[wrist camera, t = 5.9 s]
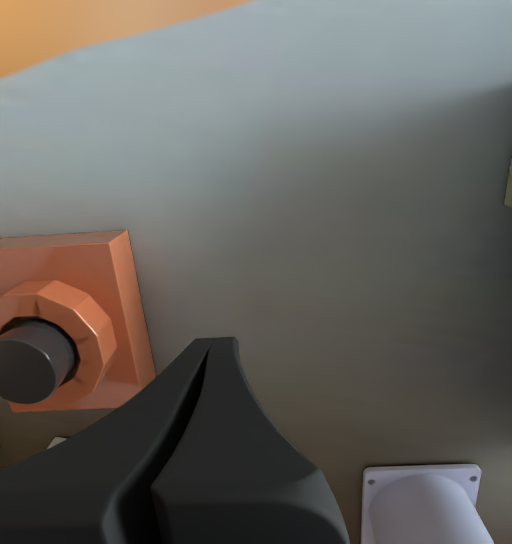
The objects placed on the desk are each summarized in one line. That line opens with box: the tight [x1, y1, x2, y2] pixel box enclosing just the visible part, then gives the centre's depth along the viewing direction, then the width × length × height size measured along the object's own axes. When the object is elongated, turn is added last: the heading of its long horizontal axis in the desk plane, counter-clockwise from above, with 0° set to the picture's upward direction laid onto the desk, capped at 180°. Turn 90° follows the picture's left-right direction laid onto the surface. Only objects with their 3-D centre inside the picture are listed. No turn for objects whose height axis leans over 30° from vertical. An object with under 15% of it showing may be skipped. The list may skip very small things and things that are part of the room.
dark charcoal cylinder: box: [0, 318, 77, 404], centre depth 18 cm, size 4×4×2 cm
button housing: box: [0, 230, 156, 412], centre depth 21 cm, size 10×8×4 cm
